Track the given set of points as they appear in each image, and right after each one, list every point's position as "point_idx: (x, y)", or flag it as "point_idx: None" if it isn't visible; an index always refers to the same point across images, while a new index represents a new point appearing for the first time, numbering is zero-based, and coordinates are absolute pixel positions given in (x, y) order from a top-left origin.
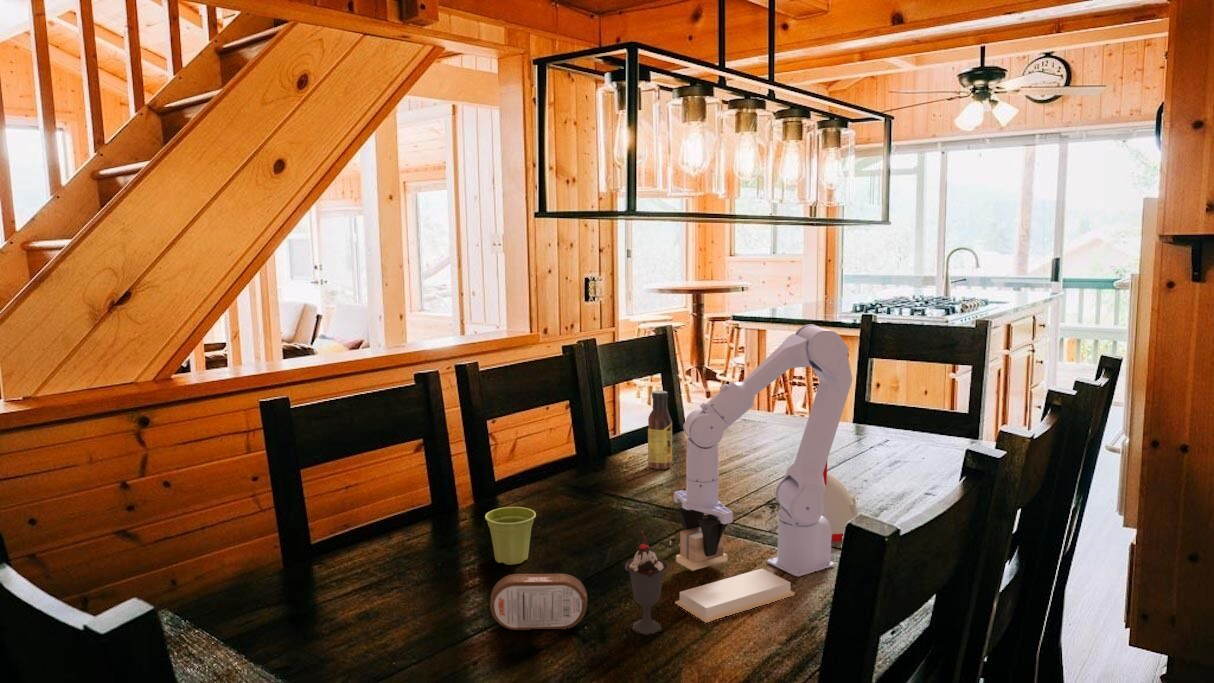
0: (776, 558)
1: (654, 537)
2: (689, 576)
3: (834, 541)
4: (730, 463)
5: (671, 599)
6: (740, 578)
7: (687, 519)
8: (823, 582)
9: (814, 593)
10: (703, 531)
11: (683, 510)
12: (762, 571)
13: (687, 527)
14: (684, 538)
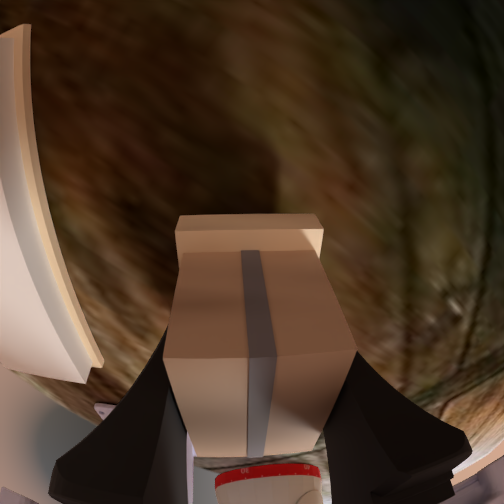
0: None
1: (495, 288)
2: (218, 206)
3: (219, 475)
4: (473, 442)
5: (70, 25)
6: (25, 305)
7: (364, 446)
8: (69, 409)
9: (26, 375)
10: (138, 432)
11: (416, 482)
12: (65, 372)
13: (349, 398)
14: (299, 325)
